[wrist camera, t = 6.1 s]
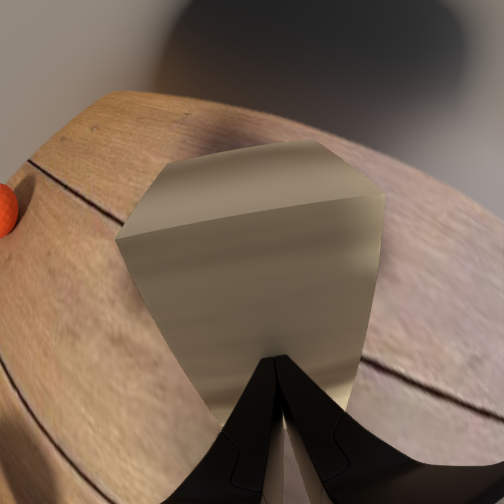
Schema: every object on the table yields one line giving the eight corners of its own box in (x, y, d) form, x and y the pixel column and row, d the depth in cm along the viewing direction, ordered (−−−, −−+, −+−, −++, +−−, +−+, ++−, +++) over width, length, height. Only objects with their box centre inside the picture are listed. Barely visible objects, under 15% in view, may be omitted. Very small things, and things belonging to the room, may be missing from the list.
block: (342, 416, 12) (385, 193, 6) (228, 435, 12) (114, 239, 6) (319, 334, 17) (313, 138, 11) (226, 349, 17) (166, 163, 11)
